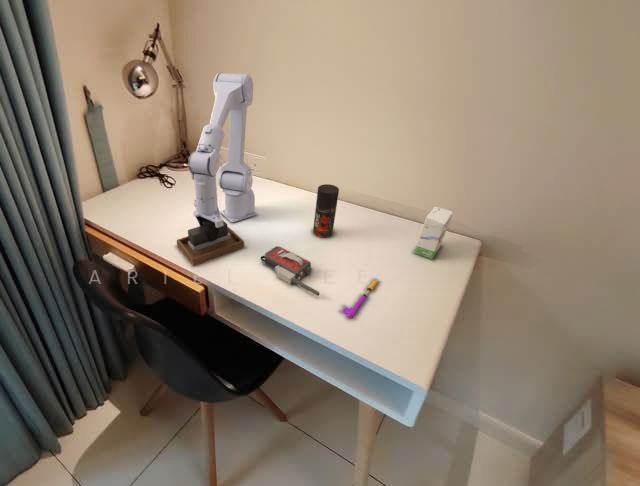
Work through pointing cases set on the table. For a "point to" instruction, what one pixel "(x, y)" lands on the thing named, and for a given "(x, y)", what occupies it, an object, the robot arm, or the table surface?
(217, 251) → the tray
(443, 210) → the ink box
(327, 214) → the deodorant
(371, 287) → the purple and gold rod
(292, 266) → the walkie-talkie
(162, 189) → the table surface
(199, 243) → the dark grey eraser block
